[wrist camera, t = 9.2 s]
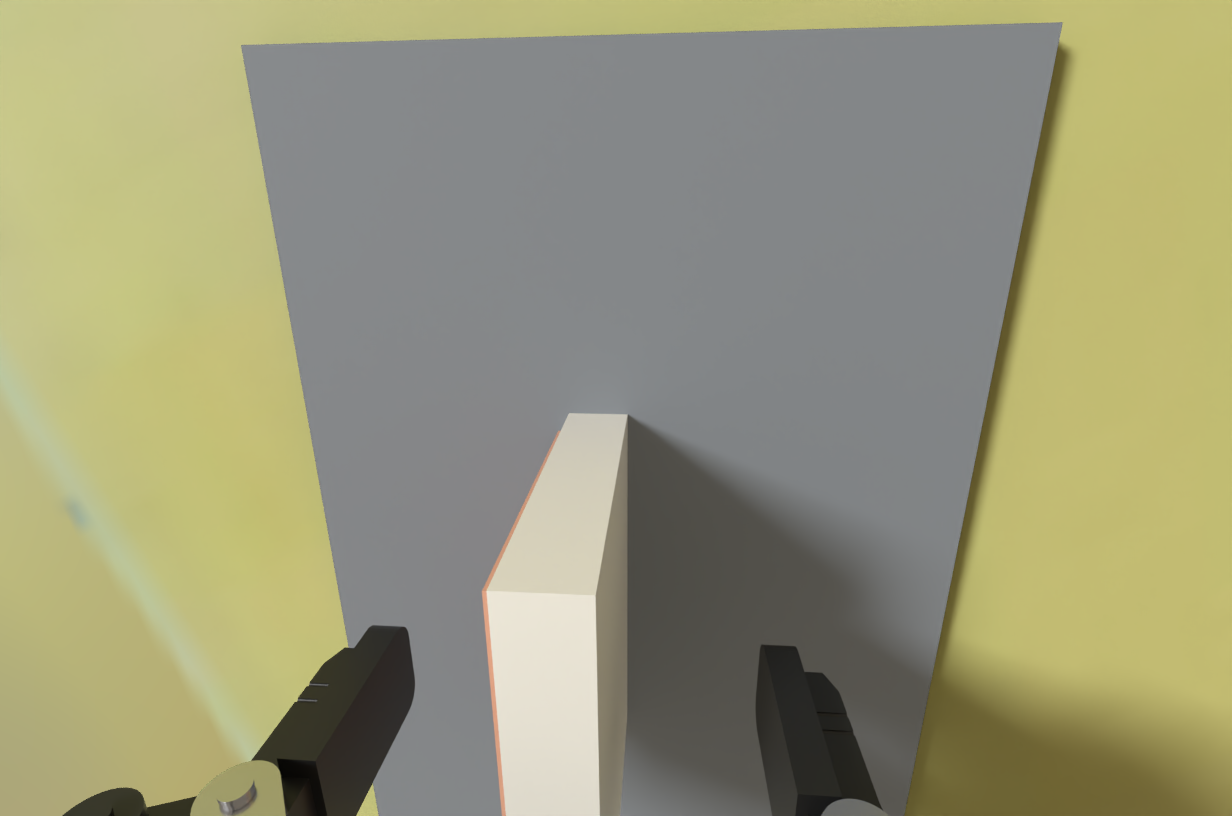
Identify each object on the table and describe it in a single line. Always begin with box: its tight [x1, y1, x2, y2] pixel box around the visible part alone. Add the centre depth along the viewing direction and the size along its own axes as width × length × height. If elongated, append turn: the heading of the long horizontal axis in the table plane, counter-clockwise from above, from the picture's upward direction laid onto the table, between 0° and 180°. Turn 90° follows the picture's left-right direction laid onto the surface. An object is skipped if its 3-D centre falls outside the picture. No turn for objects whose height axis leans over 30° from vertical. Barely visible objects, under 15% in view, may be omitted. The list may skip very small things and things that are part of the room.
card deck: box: [482, 413, 628, 816], centre depth 12 cm, size 9×2×7 cm, turn 0°
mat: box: [241, 22, 1063, 816], centre depth 15 cm, size 22×16×1 cm
